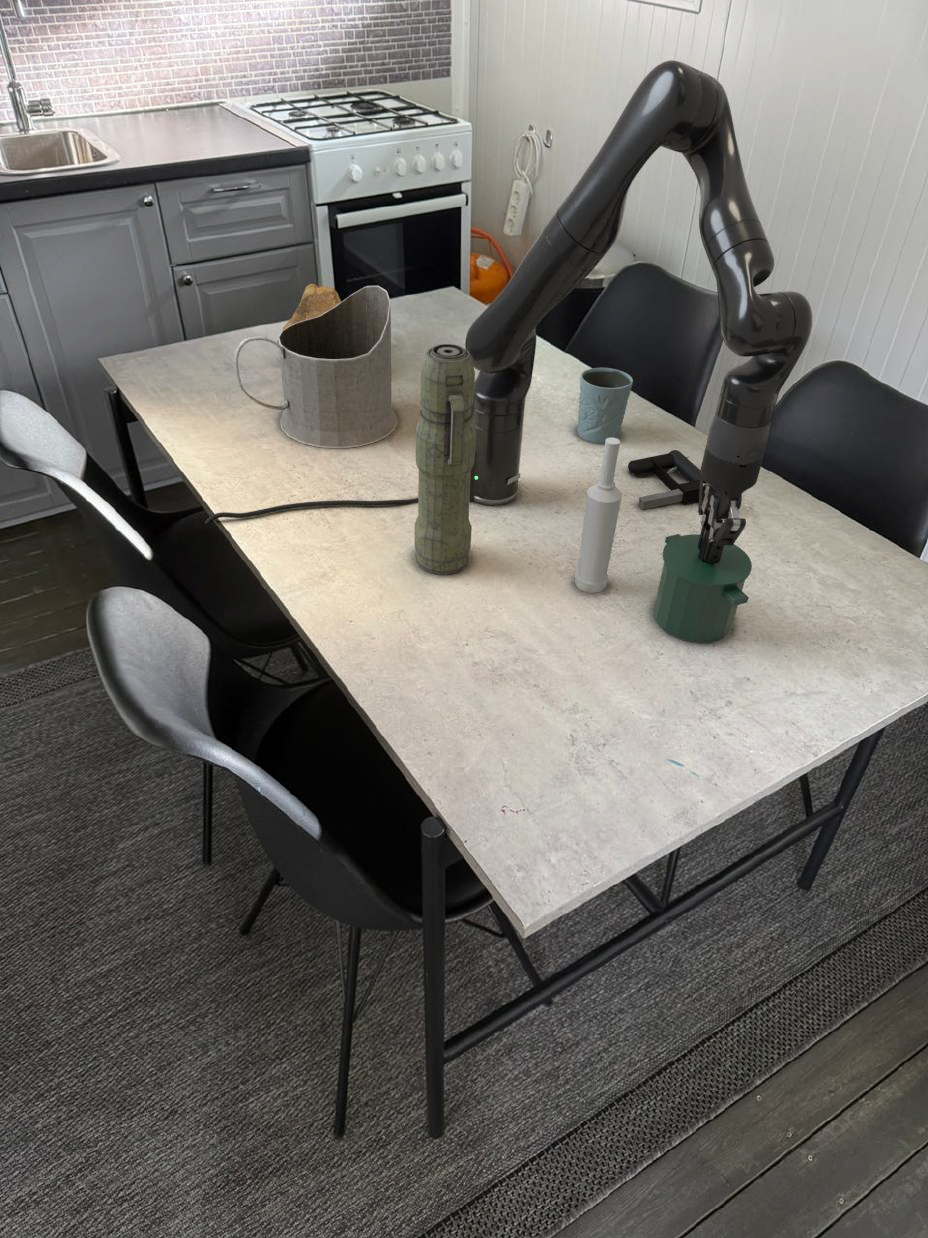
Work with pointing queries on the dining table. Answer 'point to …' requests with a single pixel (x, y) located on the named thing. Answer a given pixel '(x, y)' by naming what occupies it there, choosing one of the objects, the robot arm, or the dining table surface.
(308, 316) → the rough brown rock
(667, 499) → the black staple gun
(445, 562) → the thermos
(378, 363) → the pitcher
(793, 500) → the dining table surface
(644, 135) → the robot arm
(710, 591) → the pot
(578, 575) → the bottle
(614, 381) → the blue embossed cup
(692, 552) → the lid
